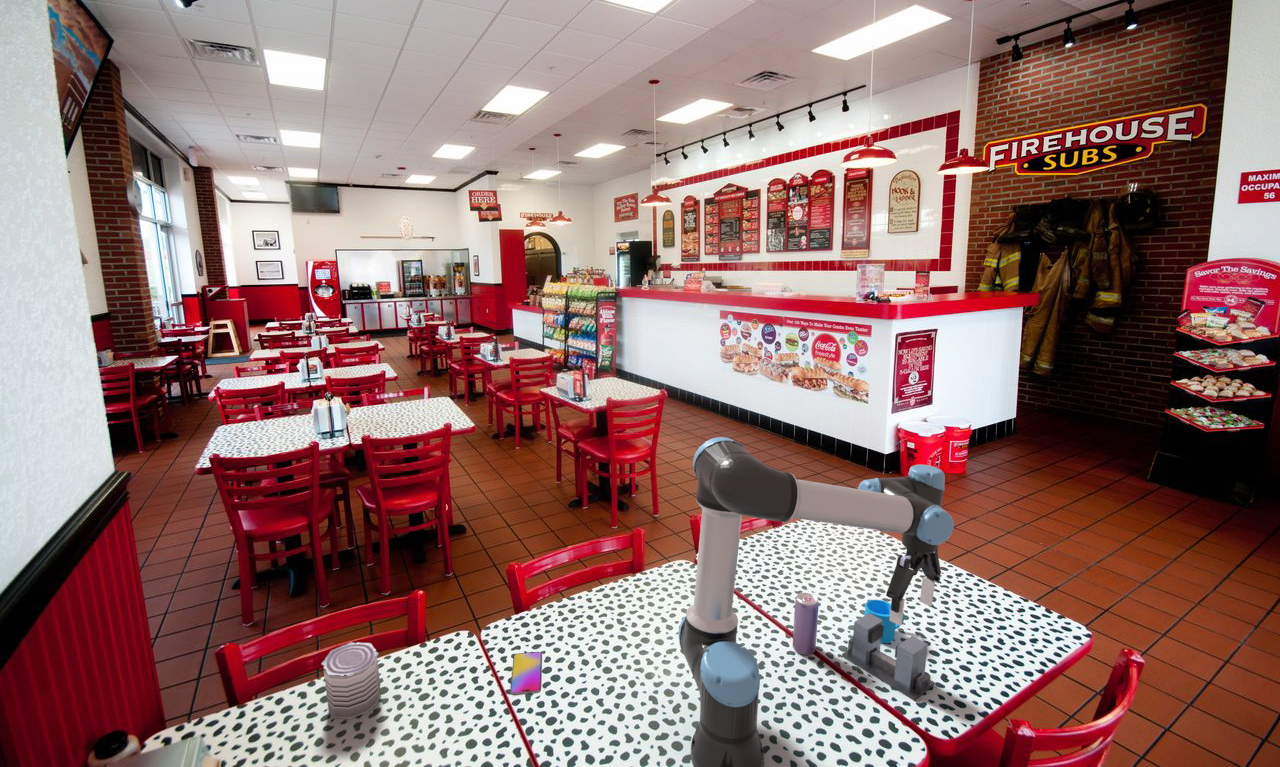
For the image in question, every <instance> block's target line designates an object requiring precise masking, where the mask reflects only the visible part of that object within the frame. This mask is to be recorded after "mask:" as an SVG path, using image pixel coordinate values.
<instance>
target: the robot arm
mask: <svg viewBox="0 0 1280 767" xmlns="http://www.w3.org/2000/svg"><path fill="white" fill-rule="evenodd" d="M692 467H693V472H694V475H695V476H696V478H697V482H696V483H697V486H696V497H695V501H696V503H697V505H698V506H700V508H701V519H700V529H699V531H700V532H699V542H698V552H697V564H696V577H695V584H694V585H695V586H694V587H695V588H694V597H693V598H694V599H693V604H692V605H690V606H689V607H688V608H687V609H686V613H685V616H684V617H683V618H682V619H681V621H680V623H679V626H678V642H679V646H680V651H681V652H682V654H683V656H684V658H685V660H686V662H687V666H688V667H689V669H690V672H691V674H692V677H693V680H694V681H695V683H696V686H697V689H698V691H699V696H700V707H699V708H700V709H699V715H700V716H699V722H698V724H697V727H696V729H695V731H694V733H693V736H692V739H691V741H690V742H691V744H690V760H691V763H692V767H764V765H765V764H764V761H765V751H764V747H763V744H762V741H761V738H760V734H759V731H758V729H757V728H758V711H759V710H758V709H759V694H760V693H759V690H760V686H761V683H760V682H761V678H760V667H759V664H758V661H757V659H756V657H755V655H754V654H753V653H752V652H751V651H750V650H749V649H748V648H747V647H745V646H743V647H741V644H739V643H737V633H738V624H739V619H738V616H737V614H736V612H734V611H733V603H734V594H735V593H734V592H735V585H736V584H735V583H736V577H737V576H736V575H737V567H738V554H739V545H740V537H741V526H742V518H743V517H742V516H745V517H748V518H749V517H751V518H755V519H761V520H766V521H772V522H781V523H787V522H790V521H791V520H792V519H798V520H803V521H811V522H818V523H826V524H833V525H838V526H846V527H852V528H859V529H860V528H861V529H865V530H866V529H867V530H874V531H881V532H889V533H895V534H901V535H902V536H901V544H902V545H903V546H904V548H905V549H906V551H905V555H904V556H902V555H900V554H899V555H898V556H897V560H896V565H895V568H894V571H893V573H892V576H891V579H890V582H889V585H888V588H887V591H886V594H885V595H886V597H887V598H890V599H891V602H890V604H891V609H890V619H889V620H890V621H892V622H893V623H895V624H897V625H899V626H900V627H901V626H903V623H902V619H903V613H904V609H905V599H904V597H905V594H906V592H907V591H908V588H909V586H910V584H911V583H912V580H913V578H914V576H916V575H917V574H918V573H919V571H920V569H921V571H922V573H923V574H924V576H923V577H922V578H921V580H922V582H921V589H920V596H919V602H920V603H922V604H924V605H926V606H929V607H933V600H934V593H935V585H936V584H935V583H936V582H938V583H939V582H940V581H941V577H940V576H941V575H942V571H941V564H940V560H939V559H940V557H939V554H938V549H939V545H941V544H944V543H945V542H946V541H948V540H949V538H951V536H952V533H953V531H954V525H955V522H954V519H953V517H952V515H951V514H950V513H949V512H947V510H945V509H944V508H943V501H944V495H945V494H944V493H945V491H946V490H945V489H946V488H945V482H946V476H945V473H944V471H943V470H942V469H940V468H938V467H936V466H932V465H928V464H915V465H912V466H910V468H909V471H908V473H907V475H908V476H899V477H881V478H878V477H875V478H870V479H864V480H862V481H861V482H860V483H859V485H858V487H857V488H852V487H847V486H843V485H842V486H841V485H837V484H836V485H835V484H830V483H829V484H828V483H823V482H816V481H811V480H806V479H805V480H803V479H799V478H798V479H797V478H796V476H795V474H793V473H792V472H788V471H783V470H778V469H775V468H773V467H772V466H771V467H770V466H768V465H766V464H765V463H764V462H762V461H760V460H759V459H758V458H756V456H754V455H753V454H751V453H750V452H749V451H748V450H747V449H746V448H745V447H744V445H743V444H741V443H740V442H738V441H735V440H734V439H732V438H729V437H725V436H720V437H719V436H718V437H714V438H711V439H708V440H706V441H705V442H703V443H702V444H701V445H700V446H699V447H698V449H697V450H696V451H695V454H694V456H693V460H692Z"/></svg>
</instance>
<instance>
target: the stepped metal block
mask: <svg viewBox="0 0 1280 767" xmlns="http://www.w3.org/2000/svg"><path fill="white" fill-rule="evenodd" d="M928 645H929V644H928V643H927V642H925V641H924V640H921V639H920V638H917V637H916V636H913V635H911V636H909V637H908V638H906V639H905V640H903V641H902V642H900V643H899V644H897V645H896V646H895V652H894V653H895V654H894V658H895V660H896V666H895V676H894V682H895V683H897V684H898V685H900V686H902V687H903V688H905V689H907V690H908V691H910V690H911V689H913V683H914V677H915V676H917V675H918V674H919V675H921V676H924V675H925V674H926V663H927V655H928V647H929V646H928Z"/></svg>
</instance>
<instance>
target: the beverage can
mask: <svg viewBox="0 0 1280 767" xmlns="http://www.w3.org/2000/svg"><path fill="white" fill-rule="evenodd" d="M819 606H820V604H819V598H818V597H817V596H816V595H815V594H812V593H809V592H800V593H798V594H797V595H796V598H795V601H794V614H793V615H794V616H793V617H794V618H793V632H792V633H793V634H792V648H793V649H794V651H795V652H796V653H798V654H799V655H802V656H803V655H804V656H809V655H812V654H814V652H815V651H816V649H817V647H816V646H817V633H818V619H819V618H818V617H819V609H820V608H819Z"/></svg>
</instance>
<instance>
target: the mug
mask: <svg viewBox="0 0 1280 767" xmlns="http://www.w3.org/2000/svg"><path fill="white" fill-rule="evenodd" d="M890 609H891V602H888V601H886V600H881V599H870V600H867V601H866V602H865V605H864V616H865V615H867V614H868V613H870V614H872V615H874V616H876V617H878V618H880V619H882V620H883V625H882V626H884V629H883V637H882V638H881V644H890V643H893V641H894V640H895V636H896V635H895V634H896V630H897V629H899V628H900V627H901V626H899V625H897V624H895V623H893V622H892V621H890V620H889V619H890ZM904 621H905V613H904V612H903V619H902V624H904Z"/></svg>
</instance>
